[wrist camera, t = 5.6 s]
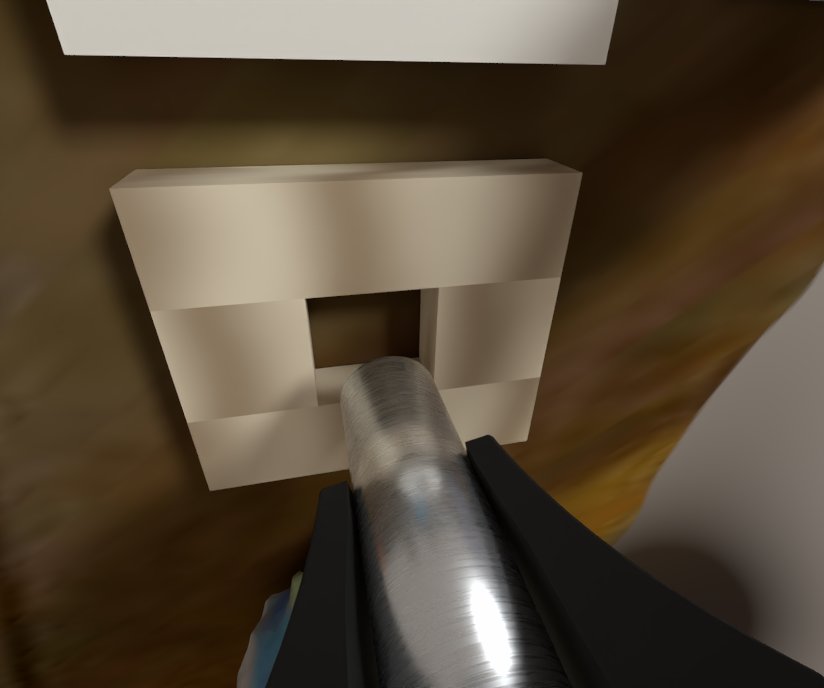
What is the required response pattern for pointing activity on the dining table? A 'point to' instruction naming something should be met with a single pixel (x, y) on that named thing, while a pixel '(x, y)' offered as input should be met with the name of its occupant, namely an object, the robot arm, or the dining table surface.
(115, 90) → the dining table surface
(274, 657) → the decorative rock
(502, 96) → the dining table surface
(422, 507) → the steel peg
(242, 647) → the dining table surface
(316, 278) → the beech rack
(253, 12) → the socket block
